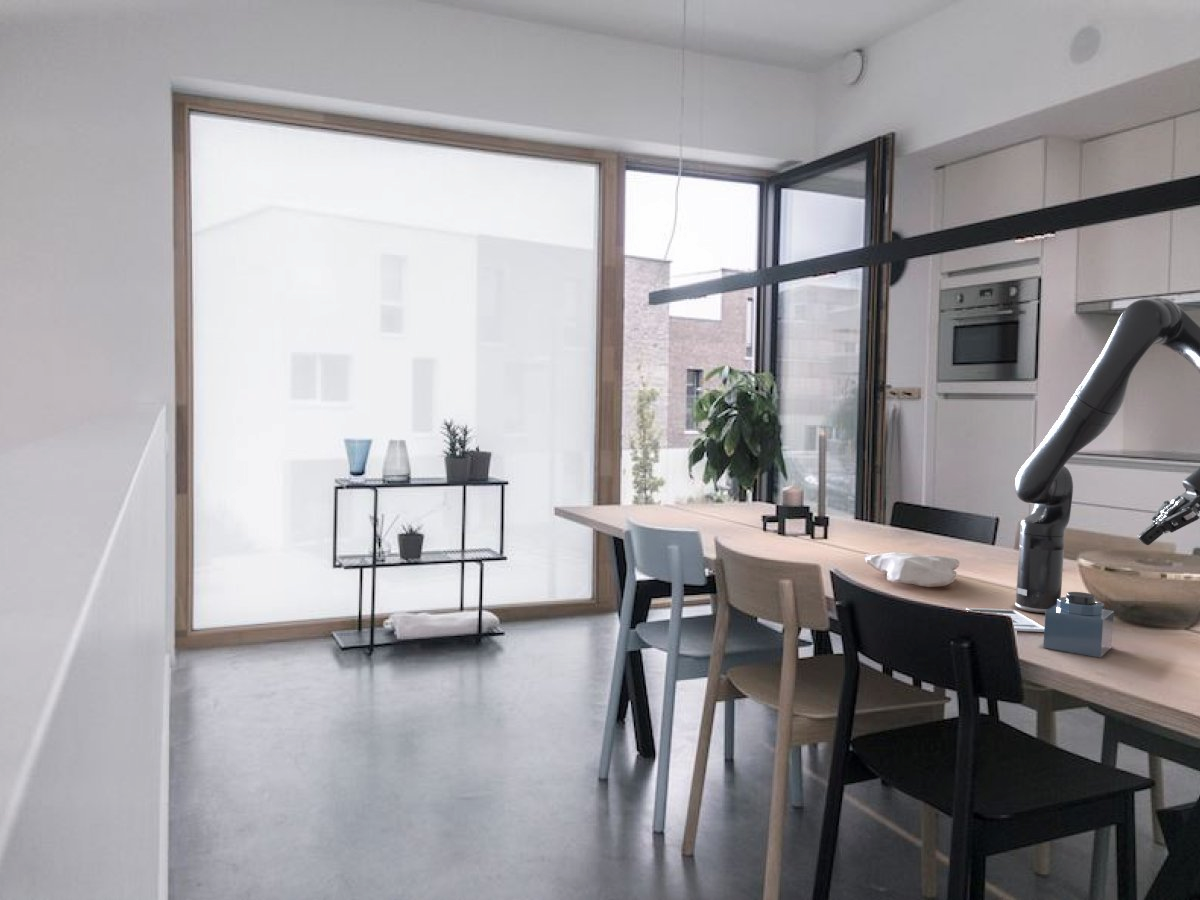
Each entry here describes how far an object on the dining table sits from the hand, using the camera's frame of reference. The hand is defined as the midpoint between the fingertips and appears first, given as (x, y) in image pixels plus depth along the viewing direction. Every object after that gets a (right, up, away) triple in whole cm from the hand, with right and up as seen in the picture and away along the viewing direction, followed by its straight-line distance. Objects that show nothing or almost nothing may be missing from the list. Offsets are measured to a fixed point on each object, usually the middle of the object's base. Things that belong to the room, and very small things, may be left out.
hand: (1142, 541), depth 187 cm
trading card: (-16, -19, +24) cm, 35 cm away
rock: (-21, -16, +70) cm, 75 cm away
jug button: (-10, -12, +3) cm, 16 cm away
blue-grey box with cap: (-11, -21, +3) cm, 24 cm away
